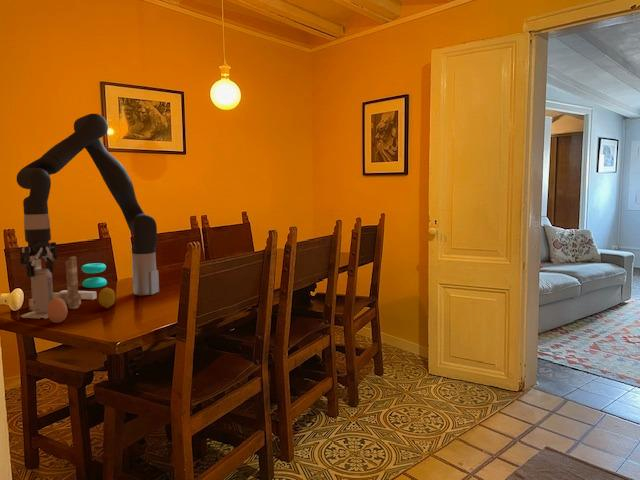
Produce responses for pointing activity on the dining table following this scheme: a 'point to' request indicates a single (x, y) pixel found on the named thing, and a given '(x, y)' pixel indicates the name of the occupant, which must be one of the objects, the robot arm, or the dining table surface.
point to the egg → (57, 310)
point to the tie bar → (85, 294)
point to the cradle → (72, 285)
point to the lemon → (106, 297)
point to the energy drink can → (42, 290)
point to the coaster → (34, 315)
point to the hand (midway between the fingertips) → (41, 274)
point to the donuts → (95, 281)
